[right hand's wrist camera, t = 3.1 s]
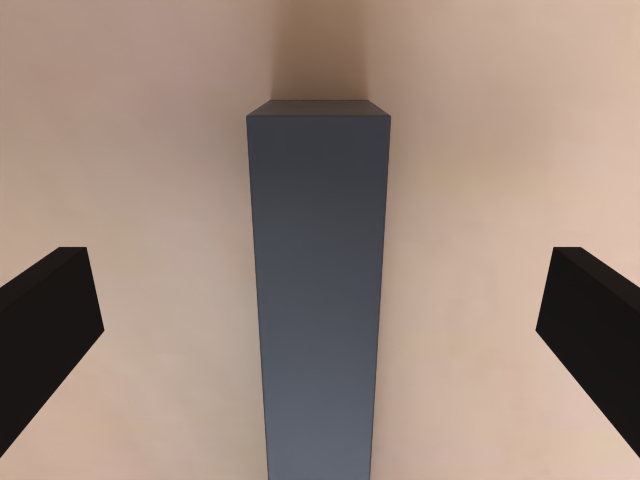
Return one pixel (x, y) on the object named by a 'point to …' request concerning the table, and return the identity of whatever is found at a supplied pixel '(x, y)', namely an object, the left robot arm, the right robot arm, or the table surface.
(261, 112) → the beam
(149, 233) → the table surface
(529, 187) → the table surface
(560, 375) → the table surface
